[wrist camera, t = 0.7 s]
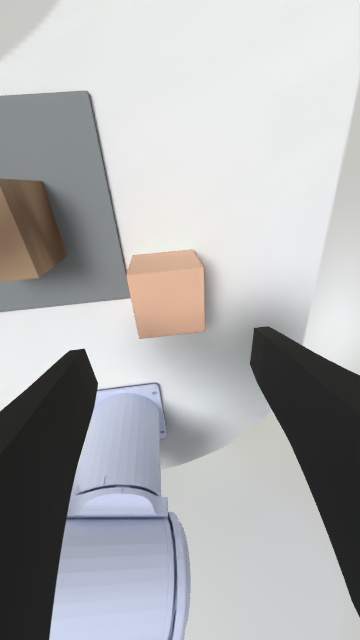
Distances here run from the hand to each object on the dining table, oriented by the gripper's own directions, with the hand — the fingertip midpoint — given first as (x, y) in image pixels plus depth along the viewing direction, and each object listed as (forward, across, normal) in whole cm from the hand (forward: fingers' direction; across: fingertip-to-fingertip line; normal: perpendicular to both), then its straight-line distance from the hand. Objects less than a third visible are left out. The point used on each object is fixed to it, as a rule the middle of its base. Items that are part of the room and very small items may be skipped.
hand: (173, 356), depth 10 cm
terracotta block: (+10, 0, 0) cm, 10 cm away
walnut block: (+9, +9, -5) cm, 14 cm away
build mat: (+9, +9, -5) cm, 14 cm away
